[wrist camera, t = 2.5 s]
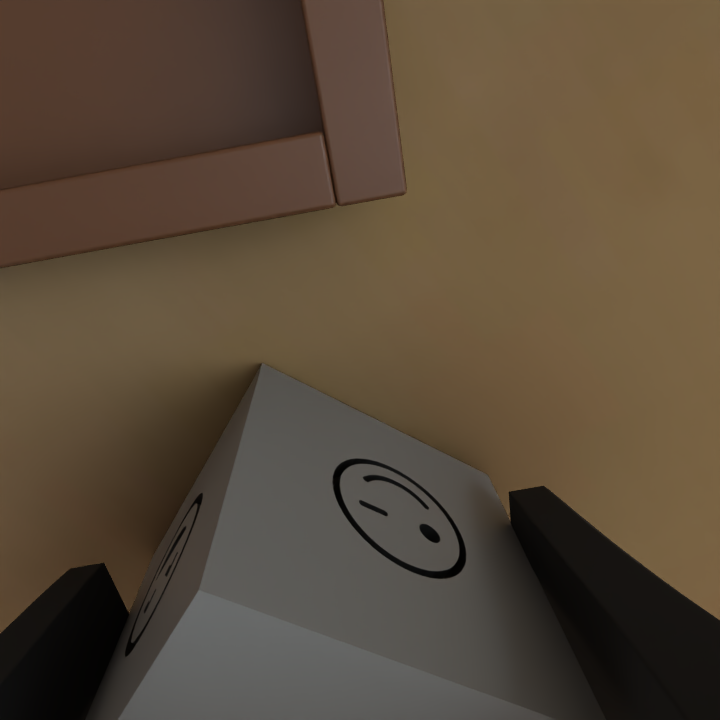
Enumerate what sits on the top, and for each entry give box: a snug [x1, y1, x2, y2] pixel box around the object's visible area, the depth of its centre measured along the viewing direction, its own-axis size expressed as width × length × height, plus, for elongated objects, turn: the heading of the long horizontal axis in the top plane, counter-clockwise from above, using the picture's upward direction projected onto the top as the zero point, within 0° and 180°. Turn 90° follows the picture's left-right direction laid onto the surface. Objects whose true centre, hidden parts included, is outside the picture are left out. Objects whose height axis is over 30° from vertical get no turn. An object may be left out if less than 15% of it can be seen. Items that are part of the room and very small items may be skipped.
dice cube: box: [86, 363, 606, 720], centre depth 8 cm, size 5×5×5 cm
